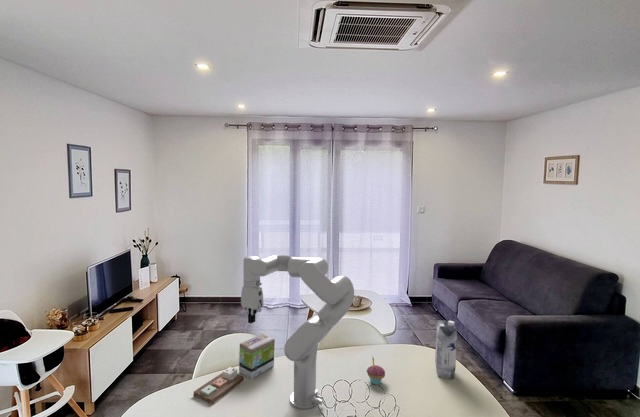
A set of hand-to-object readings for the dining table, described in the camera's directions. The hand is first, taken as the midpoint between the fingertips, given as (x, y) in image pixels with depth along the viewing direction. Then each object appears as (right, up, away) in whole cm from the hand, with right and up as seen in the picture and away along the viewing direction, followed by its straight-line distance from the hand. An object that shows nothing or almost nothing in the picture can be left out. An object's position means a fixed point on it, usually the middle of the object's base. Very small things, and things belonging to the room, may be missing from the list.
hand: (251, 322), depth 153 cm
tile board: (-14, -29, -2) cm, 32 cm away
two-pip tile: (-11, -27, +3) cm, 29 cm away
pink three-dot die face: (-14, -29, -2) cm, 32 cm away
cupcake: (+58, -30, +5) cm, 66 cm away
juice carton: (+94, -30, +13) cm, 99 cm away
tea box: (0, -28, +13) cm, 31 cm away
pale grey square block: (-17, -30, -8) cm, 35 cm away
